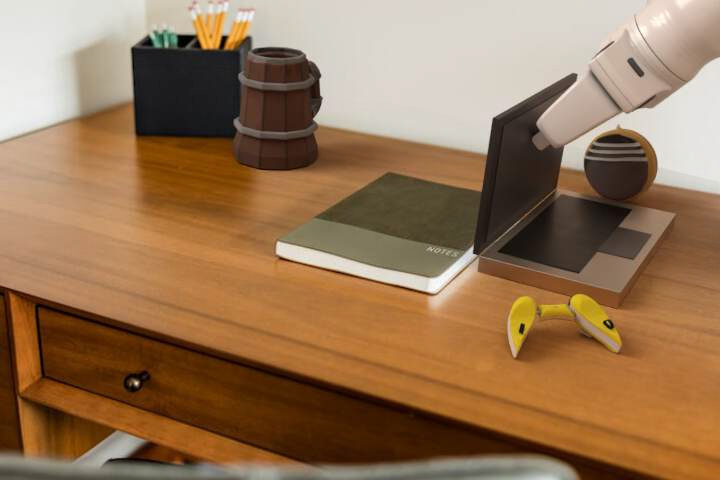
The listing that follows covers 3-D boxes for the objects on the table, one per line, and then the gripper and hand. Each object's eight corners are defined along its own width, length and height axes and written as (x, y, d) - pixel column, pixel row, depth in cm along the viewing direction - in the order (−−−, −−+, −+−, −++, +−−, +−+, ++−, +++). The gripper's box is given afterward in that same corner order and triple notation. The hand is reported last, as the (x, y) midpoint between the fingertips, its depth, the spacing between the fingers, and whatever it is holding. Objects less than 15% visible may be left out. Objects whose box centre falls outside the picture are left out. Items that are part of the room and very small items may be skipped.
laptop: (673, 227, 110) (676, 212, 109) (617, 308, 89) (620, 291, 88) (555, 201, 117) (557, 187, 116) (477, 271, 96) (479, 255, 95)
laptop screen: (578, 73, 110) (572, 72, 110) (499, 119, 89) (492, 117, 89) (557, 188, 116) (551, 186, 116) (479, 255, 95) (472, 253, 95)
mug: (282, 176, 121) (284, 65, 115) (216, 157, 127) (214, 51, 121) (349, 150, 133) (354, 48, 127) (286, 134, 139) (287, 36, 133)
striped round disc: (575, 193, 120) (586, 120, 116) (588, 186, 123) (599, 115, 119) (642, 211, 115) (656, 136, 111) (654, 204, 117) (668, 130, 113)
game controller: (591, 310, 86) (602, 286, 84) (614, 363, 82) (626, 339, 79) (492, 314, 85) (500, 290, 82) (509, 369, 80) (518, 345, 78)
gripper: (643, 27, 102) (550, 101, 110) (595, 55, 85) (489, 140, 93) (678, 72, 101) (582, 142, 109) (636, 108, 85) (527, 189, 93)
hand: (539, 142), depth 101 cm, fingers closed, pressing on laptop screen
